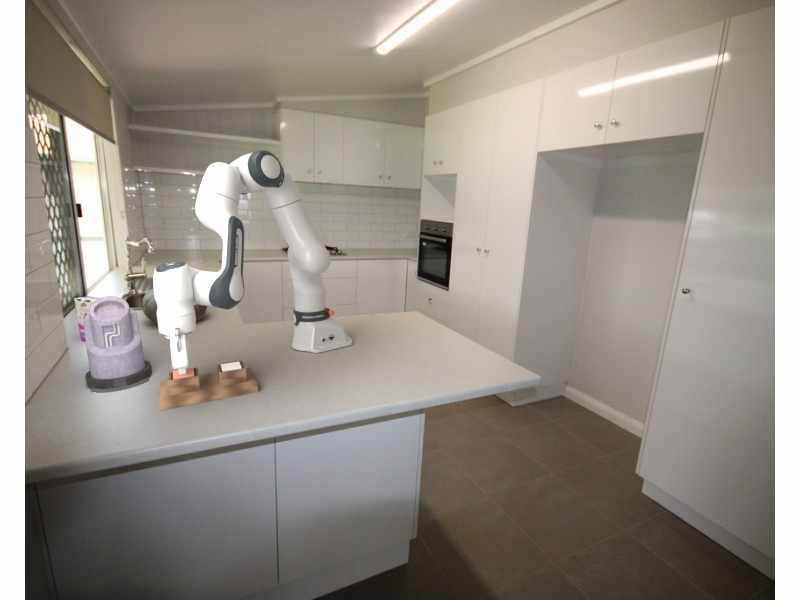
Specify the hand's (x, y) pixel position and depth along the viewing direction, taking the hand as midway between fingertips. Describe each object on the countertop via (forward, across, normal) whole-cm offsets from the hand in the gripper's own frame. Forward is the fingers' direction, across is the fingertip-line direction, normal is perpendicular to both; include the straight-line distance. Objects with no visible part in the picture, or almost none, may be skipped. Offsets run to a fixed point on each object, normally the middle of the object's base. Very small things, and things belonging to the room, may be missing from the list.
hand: (182, 372), depth 109 cm
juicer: (+7, +25, +18) cm, 32 cm away
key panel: (+6, 0, -6) cm, 9 cm away
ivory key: (+3, 0, -12) cm, 13 cm away
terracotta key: (+3, 0, 0) cm, 3 cm away
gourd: (+7, +78, +2) cm, 78 cm away
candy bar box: (+7, +63, +29) cm, 70 cm away
